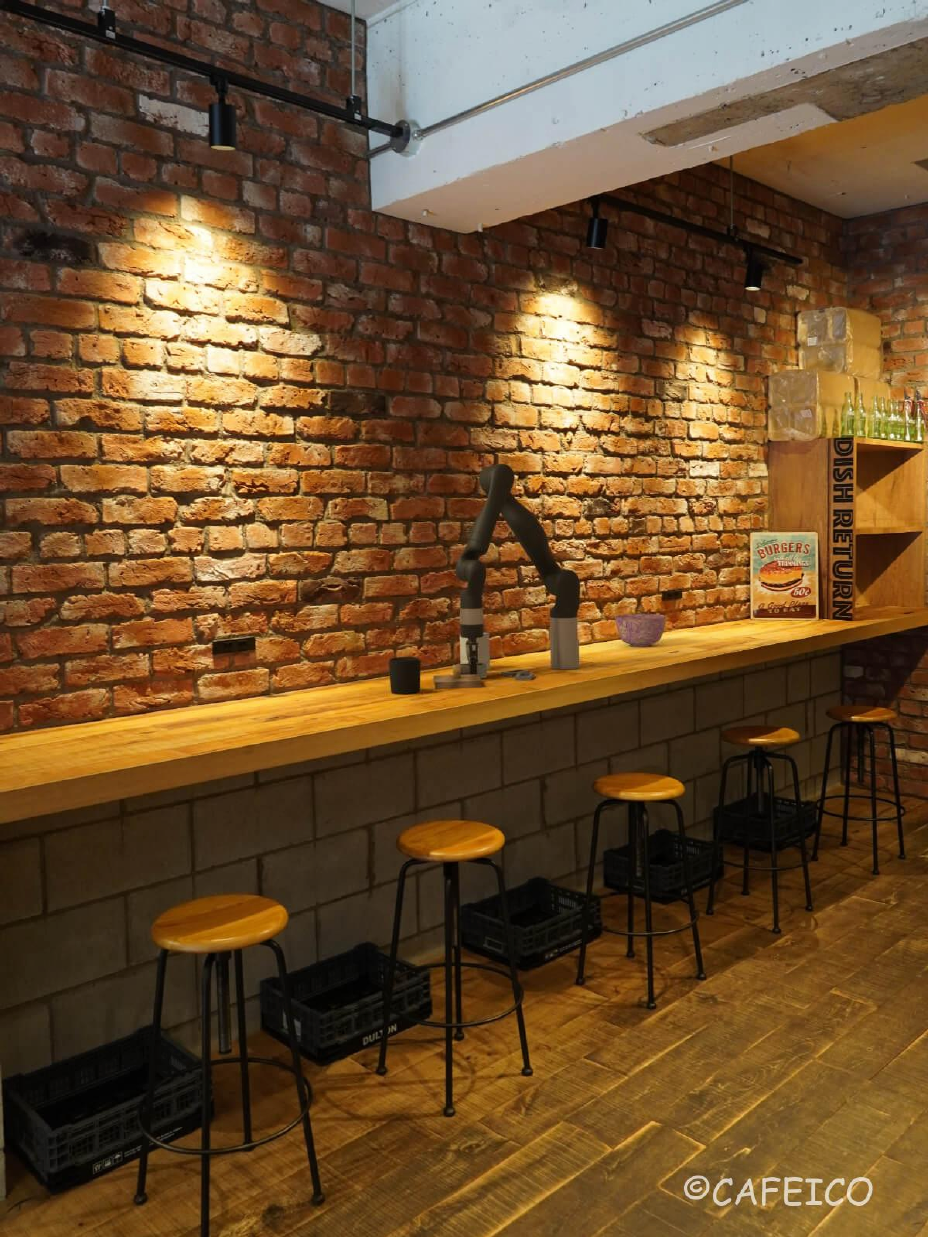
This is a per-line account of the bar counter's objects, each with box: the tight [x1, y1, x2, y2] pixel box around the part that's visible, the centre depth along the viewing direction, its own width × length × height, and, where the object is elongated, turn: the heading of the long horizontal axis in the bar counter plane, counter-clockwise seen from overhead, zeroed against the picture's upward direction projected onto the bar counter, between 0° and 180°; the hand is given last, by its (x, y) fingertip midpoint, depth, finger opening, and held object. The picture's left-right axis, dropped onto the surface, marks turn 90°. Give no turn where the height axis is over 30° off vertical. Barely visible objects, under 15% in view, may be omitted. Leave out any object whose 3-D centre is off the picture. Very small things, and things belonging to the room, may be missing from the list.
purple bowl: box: [614, 613, 667, 648], centre depth 408 cm, size 20×20×12 cm
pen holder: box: [388, 656, 422, 695], centre depth 310 cm, size 9×9×10 cm
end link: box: [456, 663, 488, 679], centre depth 335 cm, size 9×6×4 cm, turn 96°
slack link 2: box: [514, 672, 535, 681], centre depth 331 cm, size 8×5×1 cm, turn 169°
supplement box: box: [459, 632, 491, 671], centre depth 352 cm, size 7×7×13 cm
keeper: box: [432, 664, 483, 690], centre depth 322 cm, size 14×14×6 cm
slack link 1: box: [500, 668, 531, 678], centre depth 339 cm, size 8×5×1 cm, turn 129°
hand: (472, 674), depth 335 cm, fingers closed on end link, 6 cm apart
